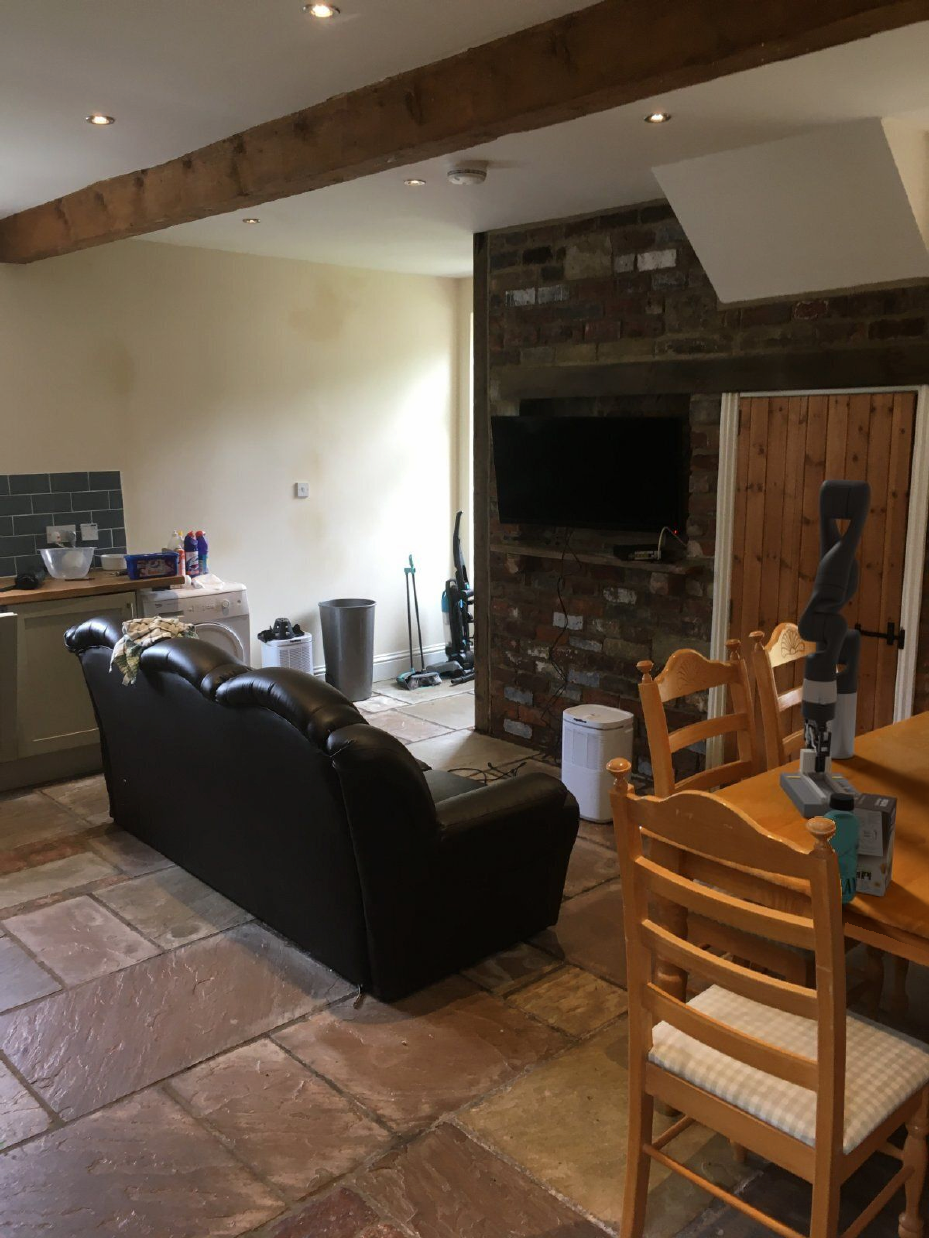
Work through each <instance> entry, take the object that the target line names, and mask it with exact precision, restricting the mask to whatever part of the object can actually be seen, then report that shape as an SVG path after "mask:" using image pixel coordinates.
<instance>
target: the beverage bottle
mask: <svg viewBox="0 0 929 1238" xmlns="http://www.w3.org/2000/svg"><path fill="white" fill-rule="evenodd" d="M829 807H830V808H832V809H835V810H834V811H830V812H828V813H827V814H825V815H824V816H823V817H821V819H822V818H828V819H830V820H832V821H834V822H835V825H836V832H835V835H833V836H832V838H830V840H829V842H830V845H831V846H832V849H834V850H835V852H837V853H838V866H839V873H840V879H841V887H842V903H841V904H848V903H850V902H853V901H854V900H855V897H856V895H857V892H856V886H857V883H856V882H857V873H856V872H857V869H858V867H857V866H858V865H857V861H858V860H857V856H858V853H859V851H858V850H859V849H858V847H859V846H858V845H859V842H858V840H859V825H860V822H859V820H858V819H857V818H856V817H855V816H854V815H853V814H852V813H850V812H847V811H851V810H854V797H853V796H851V795H849V794H845V793H834V794H831V796H830V802H829Z"/></svg>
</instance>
